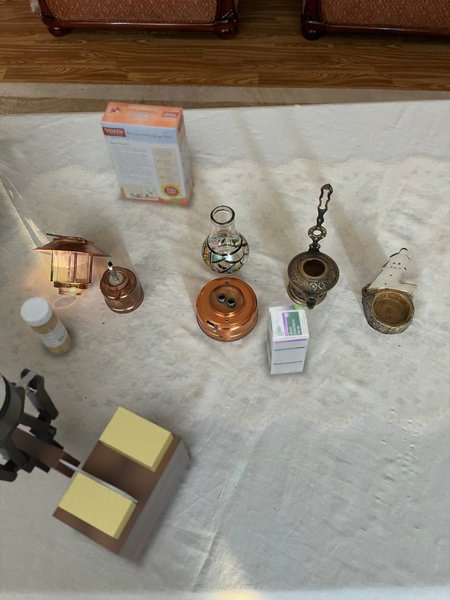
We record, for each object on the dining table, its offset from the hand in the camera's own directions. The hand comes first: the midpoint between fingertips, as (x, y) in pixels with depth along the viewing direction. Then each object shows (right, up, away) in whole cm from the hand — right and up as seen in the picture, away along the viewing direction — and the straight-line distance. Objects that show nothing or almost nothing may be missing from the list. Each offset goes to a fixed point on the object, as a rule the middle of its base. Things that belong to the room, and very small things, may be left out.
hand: (48, 456), depth 73 cm
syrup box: (+35, +11, +19) cm, 41 cm away
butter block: (+13, +3, -2) cm, 13 cm away
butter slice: (+9, -5, -6) cm, 11 cm away
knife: (+5, -1, -3) cm, 6 cm away
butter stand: (+11, -8, +8) cm, 16 cm away
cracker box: (+11, +44, +38) cm, 59 cm away
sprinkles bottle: (-5, +14, +22) cm, 26 cm away
